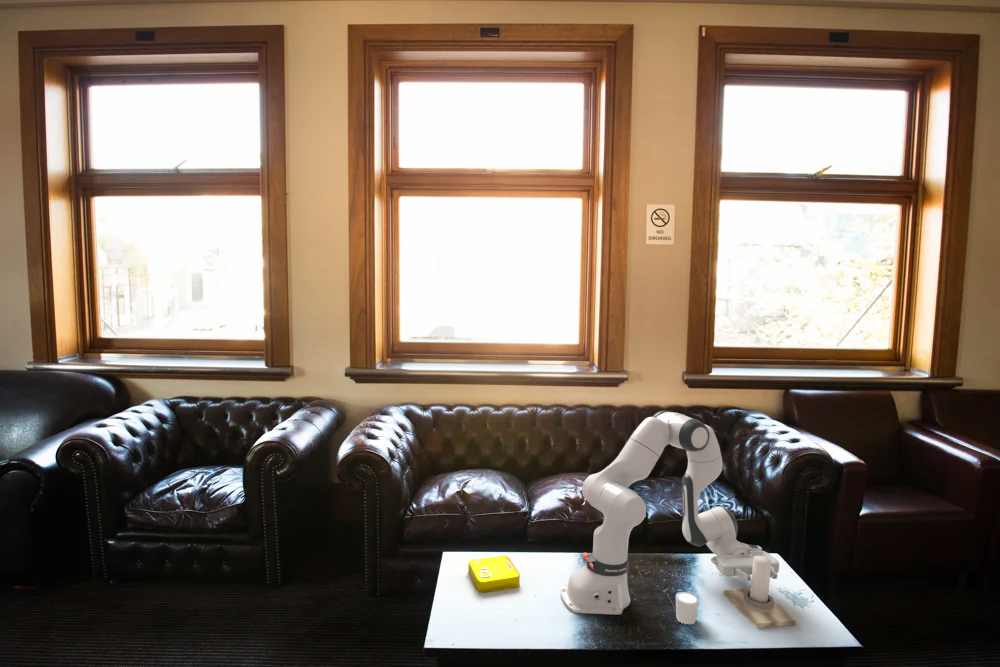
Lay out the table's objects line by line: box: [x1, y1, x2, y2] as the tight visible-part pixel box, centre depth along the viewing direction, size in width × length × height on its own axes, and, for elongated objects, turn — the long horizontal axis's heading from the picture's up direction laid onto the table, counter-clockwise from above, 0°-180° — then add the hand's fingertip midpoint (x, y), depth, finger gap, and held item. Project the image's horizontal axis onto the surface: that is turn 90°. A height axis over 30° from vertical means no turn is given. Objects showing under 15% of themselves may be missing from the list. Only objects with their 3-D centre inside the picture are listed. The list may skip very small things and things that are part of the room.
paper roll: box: [750, 556, 772, 603], centre depth 175 cm, size 5×5×15 cm
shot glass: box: [675, 591, 700, 626], centre depth 169 cm, size 7×7×7 cm
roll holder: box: [723, 587, 797, 629], centre depth 176 cm, size 13×18×4 cm
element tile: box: [467, 555, 521, 594], centre depth 189 cm, size 15×15×5 cm
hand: (762, 577), depth 174 cm, fingers open, 8 cm apart
